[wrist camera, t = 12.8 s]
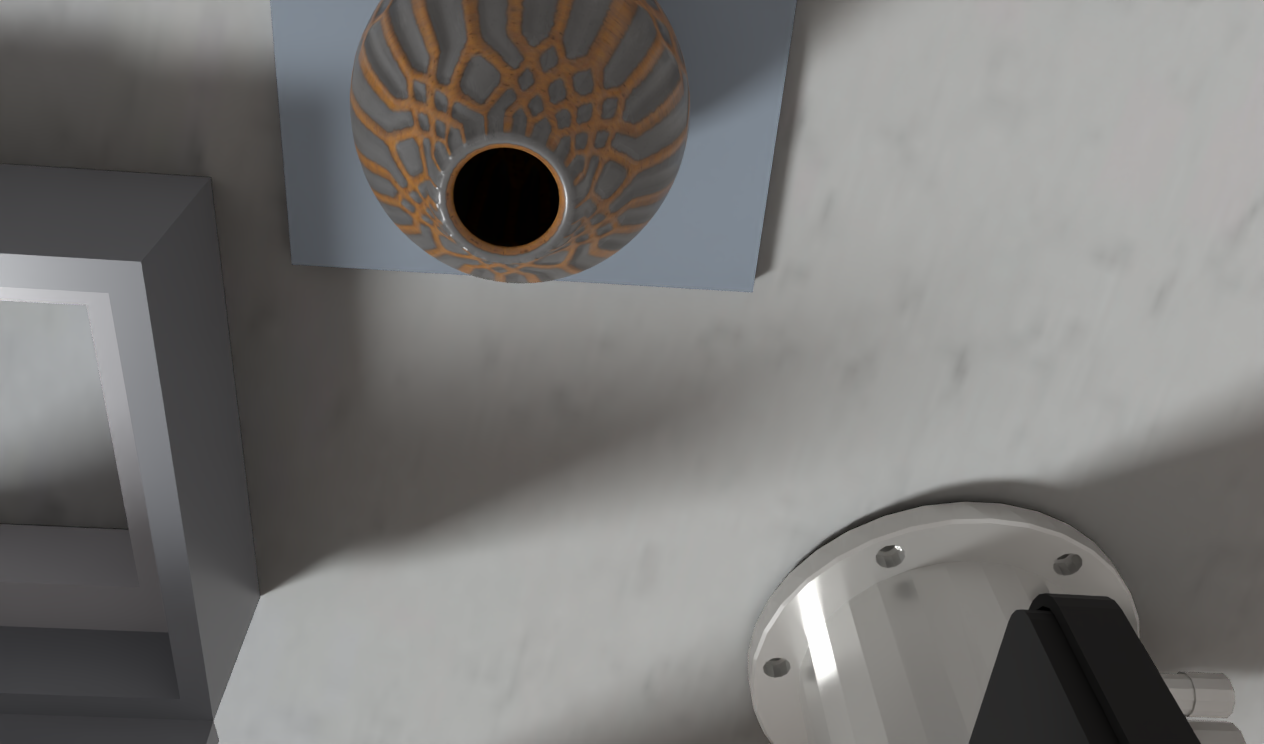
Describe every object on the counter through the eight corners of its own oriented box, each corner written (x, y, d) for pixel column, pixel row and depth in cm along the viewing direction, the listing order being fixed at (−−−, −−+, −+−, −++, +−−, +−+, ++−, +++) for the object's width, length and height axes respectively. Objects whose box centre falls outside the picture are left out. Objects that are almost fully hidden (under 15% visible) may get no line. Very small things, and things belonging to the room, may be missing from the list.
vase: (328, 87, 26) (220, 237, 19) (493, -168, 24) (444, -113, 16) (563, 248, 29) (552, 440, 21) (738, 33, 26) (796, 164, 18)
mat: (824, -221, 24) (830, -219, 23) (750, 282, 30) (752, 292, 29) (255, -273, 23) (247, -272, 23) (297, 254, 29) (291, 264, 29)
